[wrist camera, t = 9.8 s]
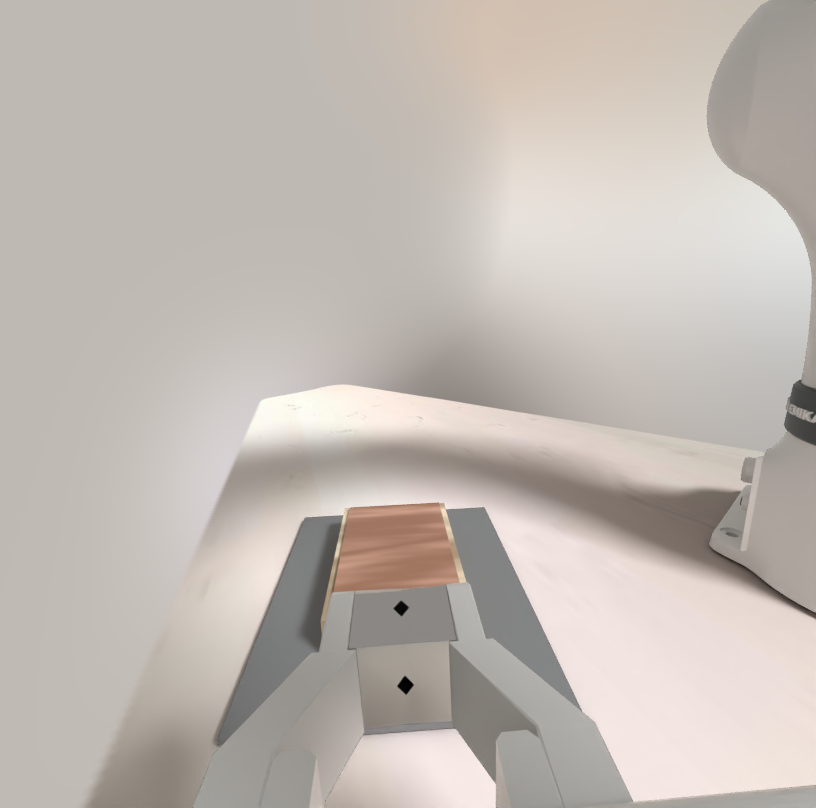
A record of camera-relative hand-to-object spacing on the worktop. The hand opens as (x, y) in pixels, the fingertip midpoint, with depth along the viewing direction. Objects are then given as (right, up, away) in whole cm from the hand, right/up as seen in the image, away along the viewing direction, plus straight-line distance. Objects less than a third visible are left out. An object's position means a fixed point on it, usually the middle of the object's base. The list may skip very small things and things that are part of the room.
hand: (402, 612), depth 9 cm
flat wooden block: (0, -9, +16) cm, 18 cm away
